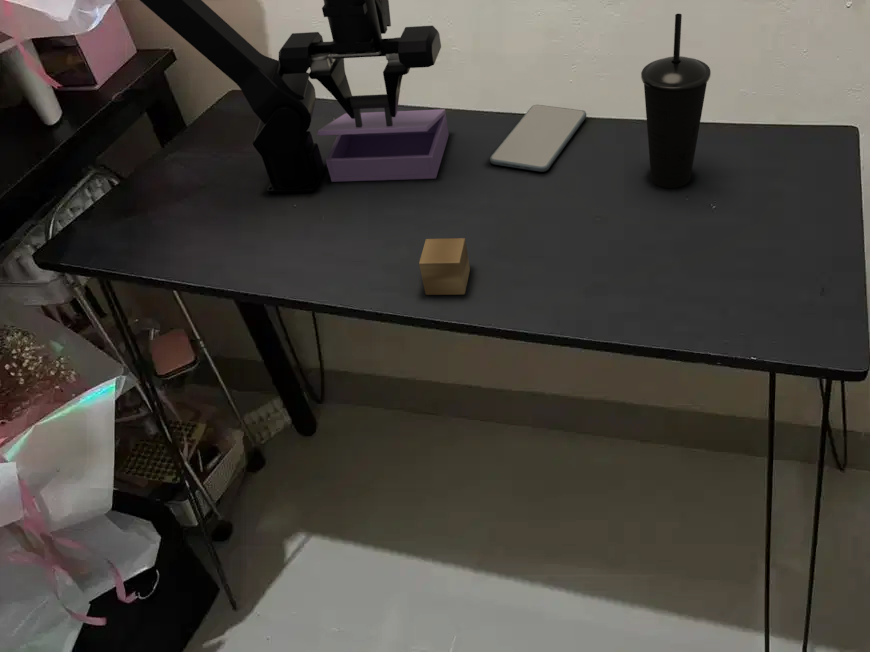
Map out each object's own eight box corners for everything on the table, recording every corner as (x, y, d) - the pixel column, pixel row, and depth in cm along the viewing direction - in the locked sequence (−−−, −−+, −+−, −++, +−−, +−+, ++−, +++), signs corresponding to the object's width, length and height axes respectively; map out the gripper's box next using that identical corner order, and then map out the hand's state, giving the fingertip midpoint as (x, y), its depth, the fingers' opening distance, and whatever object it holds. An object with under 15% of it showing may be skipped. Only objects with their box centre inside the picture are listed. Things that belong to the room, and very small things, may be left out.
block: (425, 295, 92) (418, 263, 89) (432, 270, 95) (425, 238, 92) (464, 294, 91) (459, 262, 88) (470, 269, 94) (465, 237, 91)
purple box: (436, 178, 109) (432, 156, 106) (331, 181, 111) (325, 160, 108) (449, 134, 116) (445, 113, 114) (351, 138, 118) (345, 117, 116)
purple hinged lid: (427, 131, 104) (423, 94, 102) (317, 135, 106) (311, 99, 104) (445, 113, 114) (442, 79, 112) (345, 117, 116) (340, 84, 114)
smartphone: (487, 159, 109) (533, 103, 118) (488, 165, 110) (533, 109, 119) (546, 168, 106) (588, 110, 115) (546, 175, 107) (588, 116, 116)
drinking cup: (632, 190, 102) (633, 27, 88) (648, 158, 107) (652, -2, 93) (694, 198, 100) (706, 32, 85) (708, 164, 104) (721, 2, 90)
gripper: (438, -42, 99) (456, 84, 110) (289, -31, 102) (321, 90, 113) (421, -7, 91) (442, 125, 102) (260, 3, 94) (297, 130, 105)
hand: (374, 116), depth 106 cm, fingers closed on purple hinged lid, 5 cm apart
